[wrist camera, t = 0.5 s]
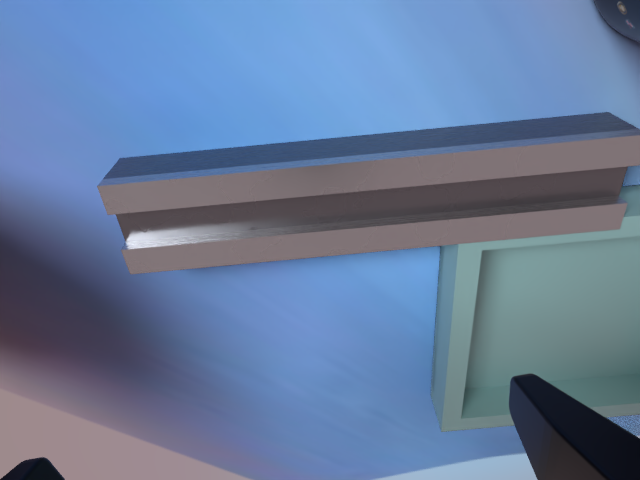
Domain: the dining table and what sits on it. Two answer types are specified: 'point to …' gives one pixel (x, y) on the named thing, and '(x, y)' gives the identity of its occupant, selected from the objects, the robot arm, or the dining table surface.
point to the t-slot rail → (372, 192)
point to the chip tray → (539, 321)
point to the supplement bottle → (622, 16)
